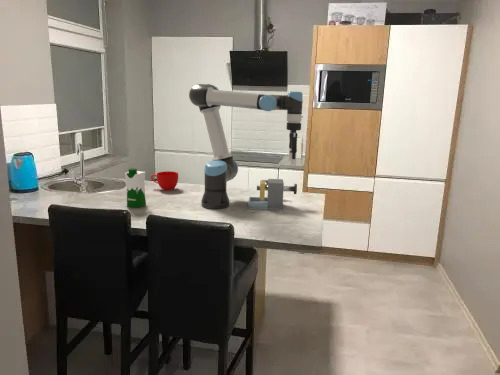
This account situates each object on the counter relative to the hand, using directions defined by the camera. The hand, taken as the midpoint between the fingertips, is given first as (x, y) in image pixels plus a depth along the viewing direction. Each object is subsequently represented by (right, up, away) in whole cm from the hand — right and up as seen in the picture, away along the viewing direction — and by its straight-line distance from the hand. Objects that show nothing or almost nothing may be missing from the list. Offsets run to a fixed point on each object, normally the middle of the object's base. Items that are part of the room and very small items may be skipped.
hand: (292, 162), depth 211 cm
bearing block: (-9, -23, +6) cm, 25 cm away
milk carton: (-82, -23, 0) cm, 85 cm away
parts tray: (-18, -23, +6) cm, 30 cm away
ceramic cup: (-75, -14, +36) cm, 84 cm away
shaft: (-8, -16, +4) cm, 18 cm away
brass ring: (-16, -14, +4) cm, 22 cm away
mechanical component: (-11, -19, +23) cm, 32 cm away
